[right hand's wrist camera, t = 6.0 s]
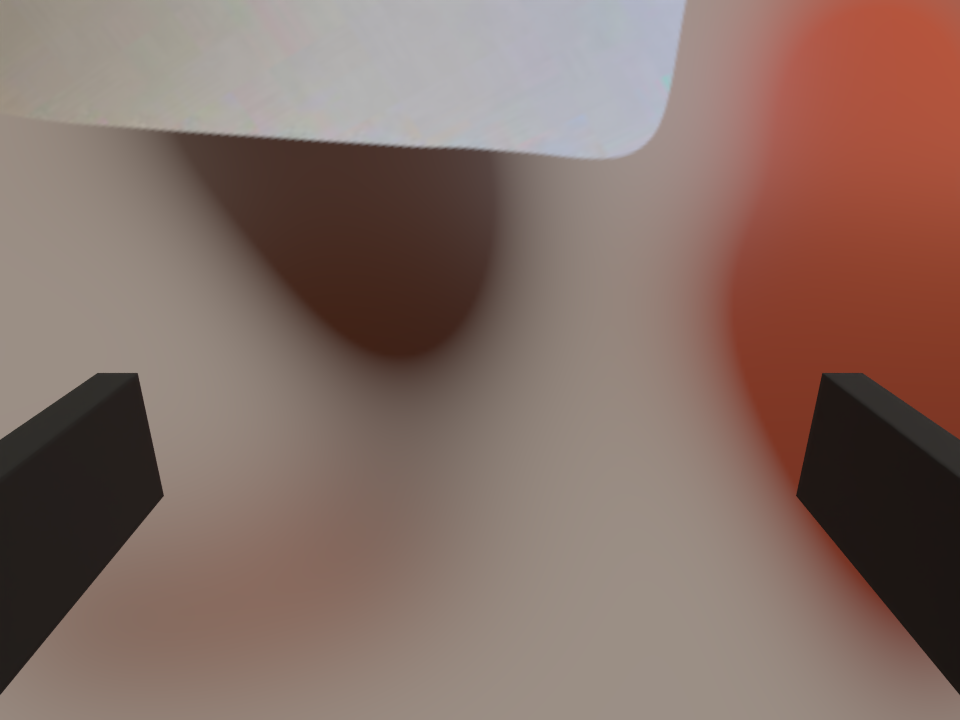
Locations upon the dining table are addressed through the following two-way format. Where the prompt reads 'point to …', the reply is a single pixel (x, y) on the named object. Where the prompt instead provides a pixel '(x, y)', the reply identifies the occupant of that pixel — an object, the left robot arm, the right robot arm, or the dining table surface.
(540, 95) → the dining table surface
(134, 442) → the right robot arm
